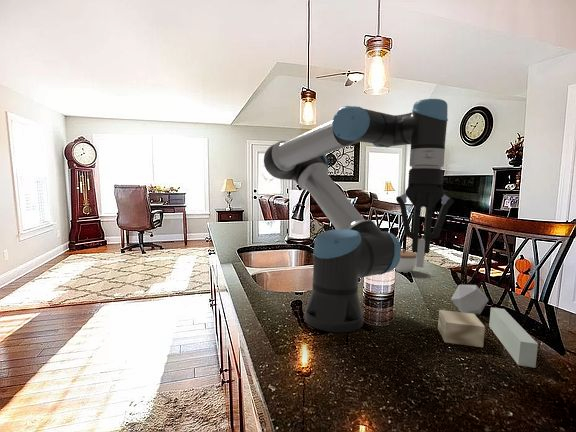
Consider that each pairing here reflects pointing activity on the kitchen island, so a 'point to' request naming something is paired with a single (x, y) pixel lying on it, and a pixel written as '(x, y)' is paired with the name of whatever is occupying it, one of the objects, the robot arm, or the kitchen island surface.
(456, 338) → the beech block
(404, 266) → the lidded jar
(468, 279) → the kitchen island surface
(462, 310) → the grey faceted block
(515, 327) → the sage board
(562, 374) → the kitchen island surface
